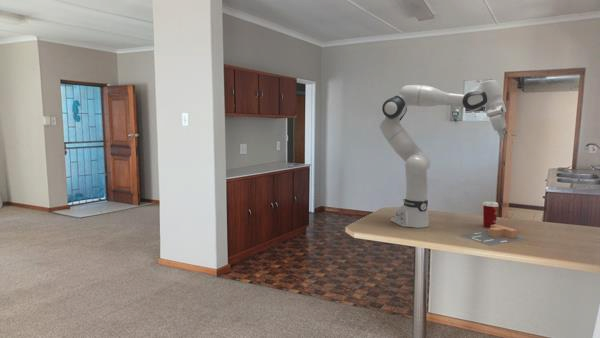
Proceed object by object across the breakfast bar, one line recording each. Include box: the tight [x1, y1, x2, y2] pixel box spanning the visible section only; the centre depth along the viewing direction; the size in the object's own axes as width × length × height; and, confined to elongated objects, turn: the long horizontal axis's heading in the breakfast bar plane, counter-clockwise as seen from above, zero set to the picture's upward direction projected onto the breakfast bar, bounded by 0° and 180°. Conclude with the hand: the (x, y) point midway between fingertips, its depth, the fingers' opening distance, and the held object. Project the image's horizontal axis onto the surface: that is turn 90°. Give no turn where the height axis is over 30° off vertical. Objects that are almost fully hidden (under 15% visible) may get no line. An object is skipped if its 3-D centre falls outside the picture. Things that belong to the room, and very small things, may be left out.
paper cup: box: [482, 200, 499, 229], centre depth 216 cm, size 8×8×14 cm
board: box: [458, 230, 526, 246], centre depth 197 cm, size 18×25×1 cm
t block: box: [487, 223, 519, 239], centre depth 198 cm, size 12×10×4 cm
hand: (503, 138), depth 201 cm, fingers open, 8 cm apart
